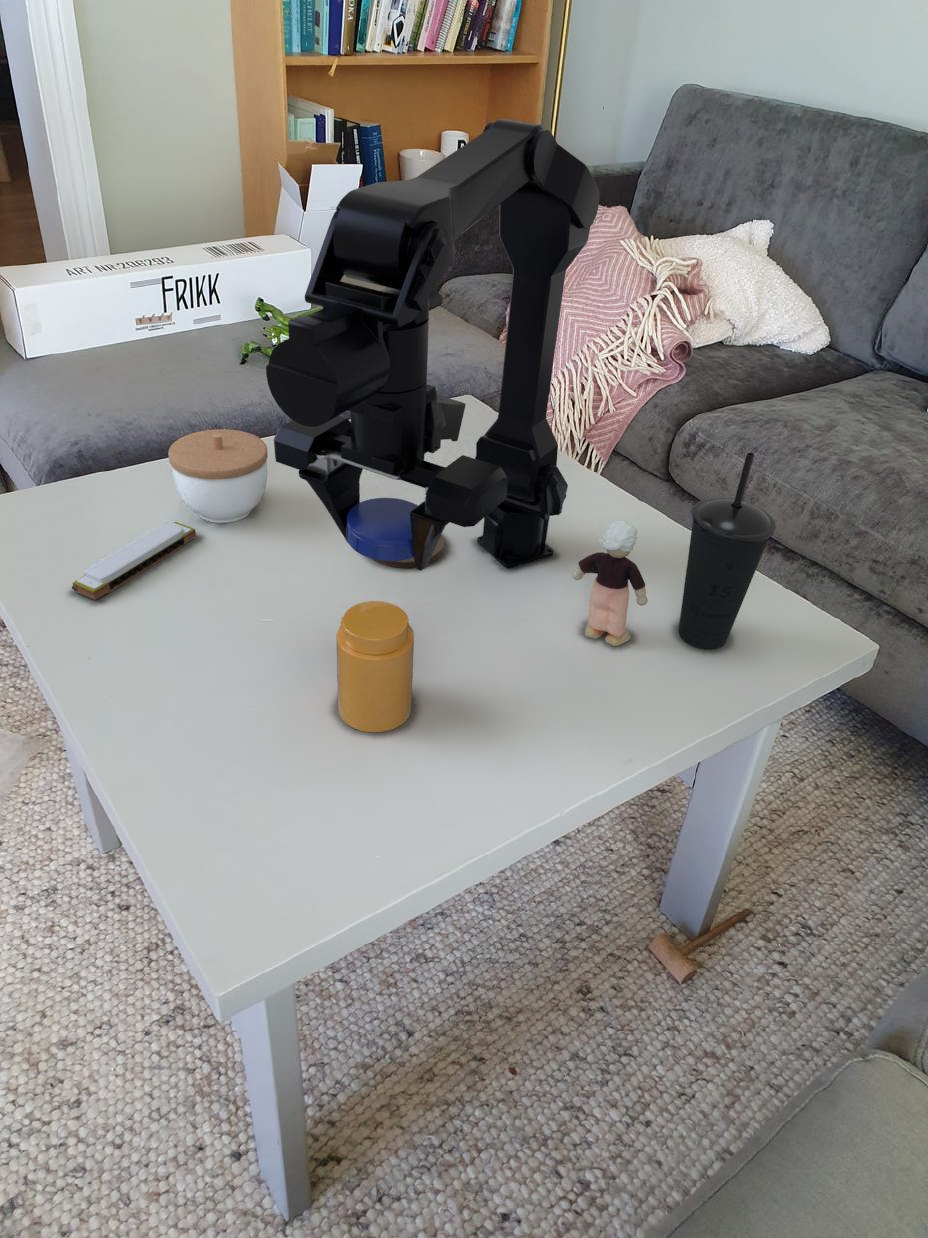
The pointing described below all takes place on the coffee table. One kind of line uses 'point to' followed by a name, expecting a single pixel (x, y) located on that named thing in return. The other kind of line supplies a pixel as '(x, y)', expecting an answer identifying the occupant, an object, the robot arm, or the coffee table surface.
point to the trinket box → (220, 473)
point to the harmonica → (133, 559)
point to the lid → (381, 529)
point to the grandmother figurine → (612, 583)
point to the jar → (374, 666)
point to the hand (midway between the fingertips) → (387, 555)
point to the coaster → (410, 562)
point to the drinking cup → (721, 564)
